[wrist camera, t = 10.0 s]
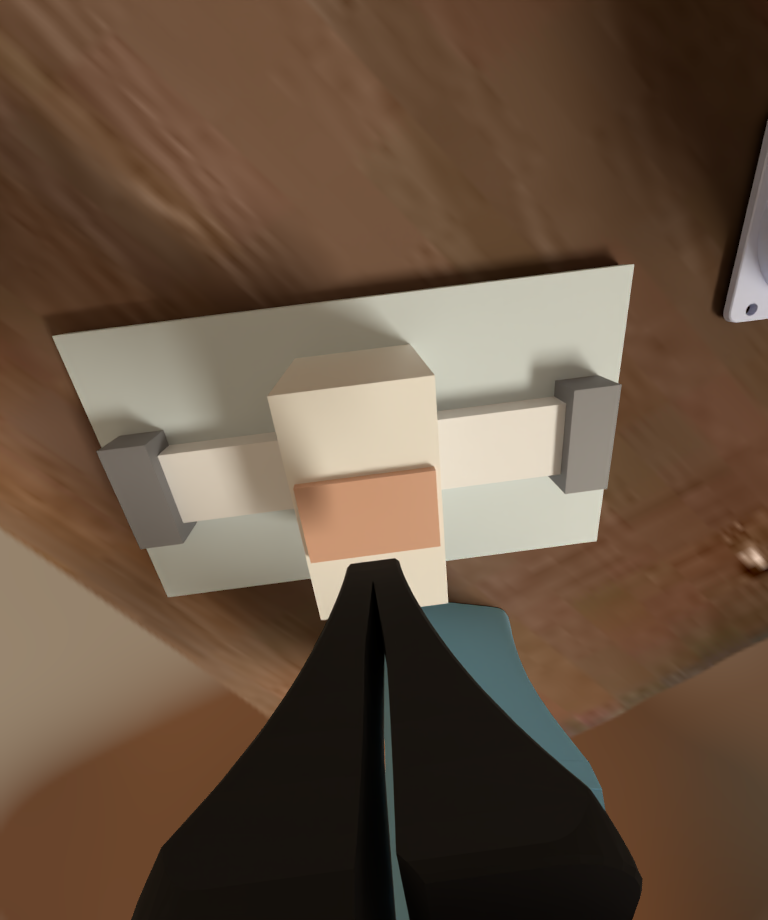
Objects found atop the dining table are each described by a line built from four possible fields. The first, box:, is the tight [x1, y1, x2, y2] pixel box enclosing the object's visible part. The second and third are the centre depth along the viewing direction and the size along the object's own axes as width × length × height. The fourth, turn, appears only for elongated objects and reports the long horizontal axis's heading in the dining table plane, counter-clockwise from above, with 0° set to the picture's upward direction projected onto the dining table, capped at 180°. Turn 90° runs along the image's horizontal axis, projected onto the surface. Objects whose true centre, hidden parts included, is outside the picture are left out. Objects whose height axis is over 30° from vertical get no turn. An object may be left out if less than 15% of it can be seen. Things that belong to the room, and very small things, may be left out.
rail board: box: [52, 264, 634, 597], centre depth 19 cm, size 24×14×3 cm, turn 97°
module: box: [267, 344, 448, 620], centre depth 16 cm, size 5×9×6 cm, turn 7°
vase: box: [384, 602, 605, 920], centre depth 18 cm, size 8×8×20 cm
